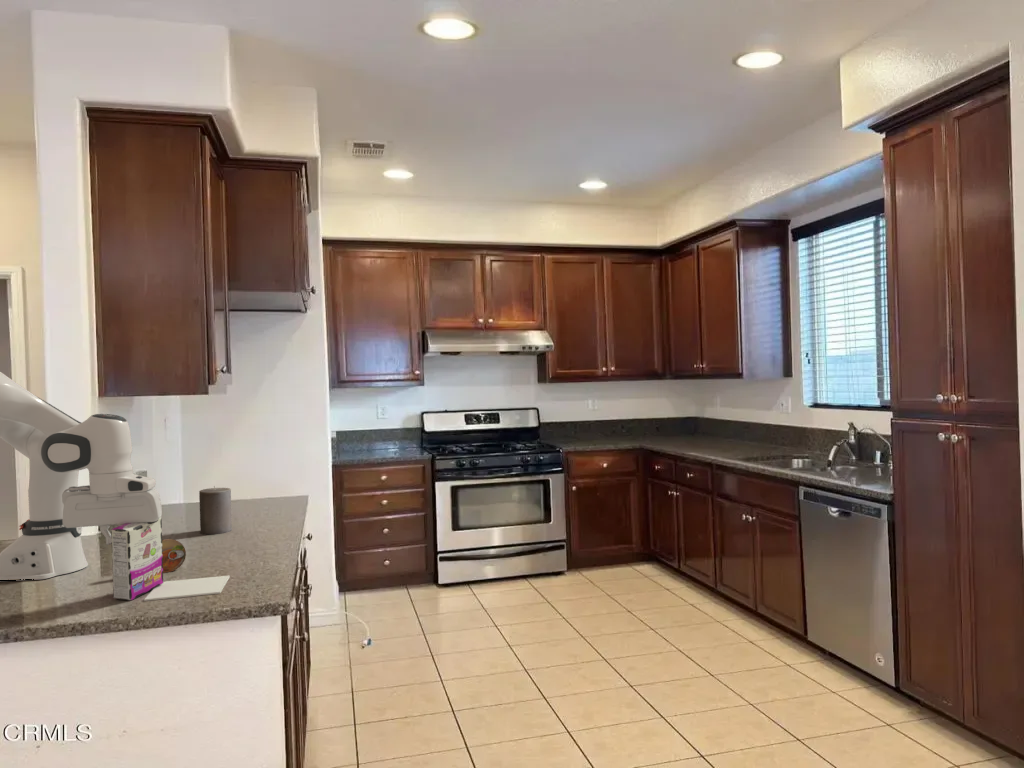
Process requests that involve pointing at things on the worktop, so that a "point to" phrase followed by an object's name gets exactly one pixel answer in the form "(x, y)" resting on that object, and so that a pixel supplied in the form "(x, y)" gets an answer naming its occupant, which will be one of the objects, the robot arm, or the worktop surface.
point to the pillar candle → (215, 510)
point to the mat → (188, 588)
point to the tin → (172, 555)
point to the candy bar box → (136, 558)
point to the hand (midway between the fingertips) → (114, 543)
